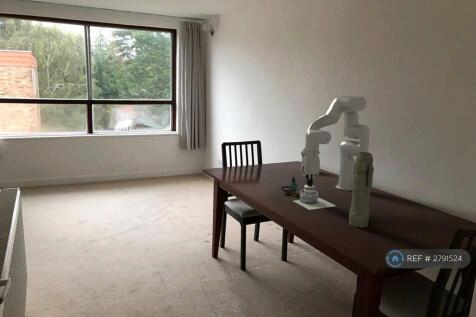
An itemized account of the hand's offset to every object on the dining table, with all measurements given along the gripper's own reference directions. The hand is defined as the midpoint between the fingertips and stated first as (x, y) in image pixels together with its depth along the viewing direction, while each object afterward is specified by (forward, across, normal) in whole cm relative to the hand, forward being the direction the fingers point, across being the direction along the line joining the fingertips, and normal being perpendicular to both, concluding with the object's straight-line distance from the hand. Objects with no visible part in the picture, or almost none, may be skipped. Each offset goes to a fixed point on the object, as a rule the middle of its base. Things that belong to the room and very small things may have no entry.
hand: (309, 185), depth 201 cm
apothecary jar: (+10, -43, -64) cm, 78 cm away
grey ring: (+9, 0, 0) cm, 9 cm away
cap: (+5, 0, 0) cm, 5 cm away
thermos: (+10, -3, +37) cm, 38 cm away
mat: (+10, -1, +4) cm, 10 cm away
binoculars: (+10, +3, -16) cm, 19 cm away
